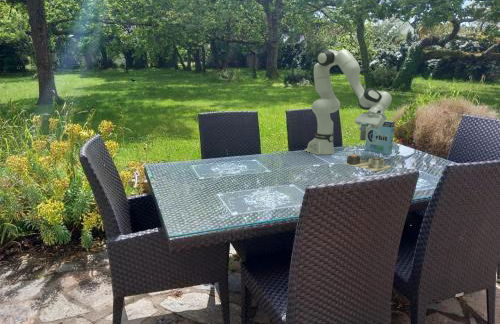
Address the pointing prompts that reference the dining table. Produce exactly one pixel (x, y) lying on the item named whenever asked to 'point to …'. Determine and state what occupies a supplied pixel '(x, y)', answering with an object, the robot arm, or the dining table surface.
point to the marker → (363, 131)
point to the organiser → (368, 163)
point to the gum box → (380, 138)
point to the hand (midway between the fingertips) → (362, 130)
